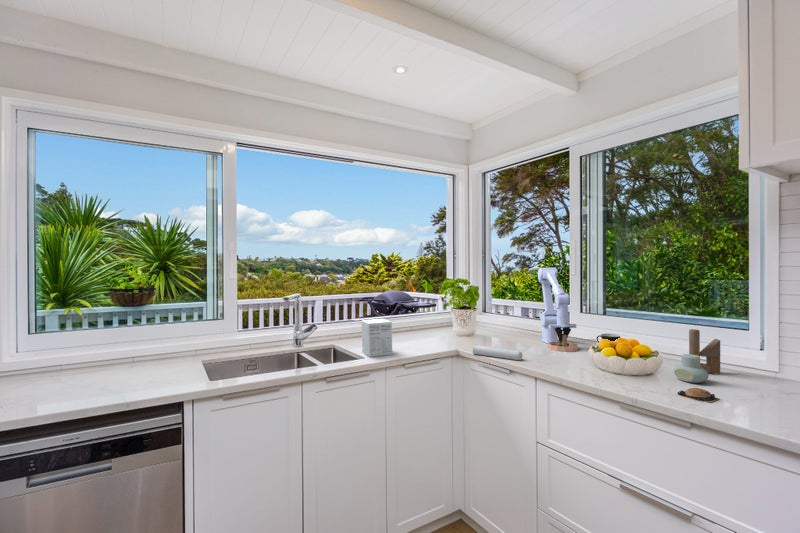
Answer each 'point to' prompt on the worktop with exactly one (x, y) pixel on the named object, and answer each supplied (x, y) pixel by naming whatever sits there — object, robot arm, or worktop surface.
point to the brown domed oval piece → (699, 395)
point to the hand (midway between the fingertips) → (562, 341)
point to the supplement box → (376, 337)
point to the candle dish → (557, 347)
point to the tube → (497, 352)
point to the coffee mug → (609, 337)
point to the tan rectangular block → (563, 341)
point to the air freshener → (691, 369)
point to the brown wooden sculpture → (705, 352)
